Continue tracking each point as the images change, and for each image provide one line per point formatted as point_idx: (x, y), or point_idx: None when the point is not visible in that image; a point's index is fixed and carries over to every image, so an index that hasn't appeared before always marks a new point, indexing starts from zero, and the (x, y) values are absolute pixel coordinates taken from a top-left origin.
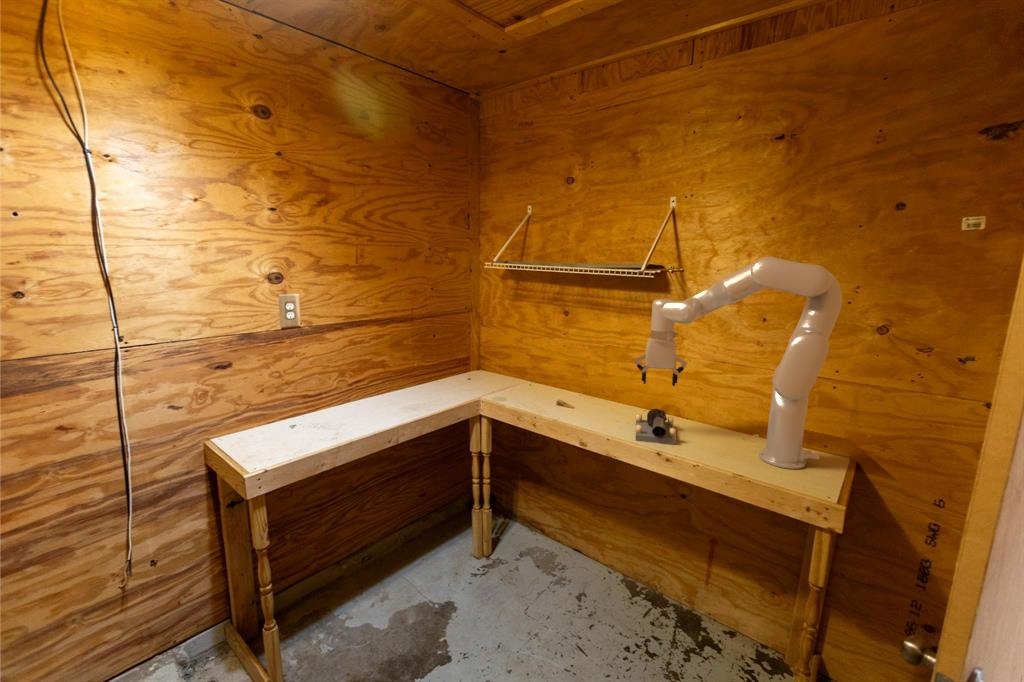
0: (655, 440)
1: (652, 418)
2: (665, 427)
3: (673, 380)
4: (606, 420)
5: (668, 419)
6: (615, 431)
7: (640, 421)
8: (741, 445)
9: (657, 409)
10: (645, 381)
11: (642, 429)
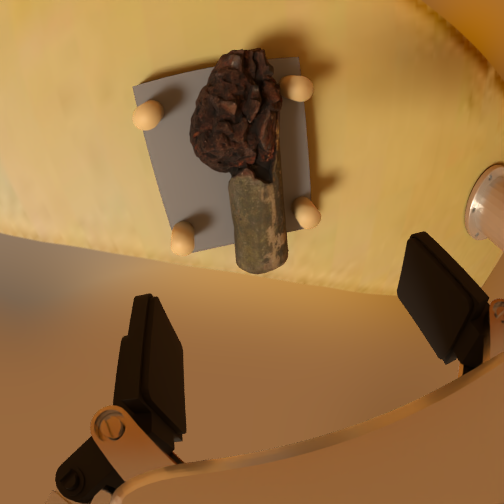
0: None
1: (222, 168)
2: (285, 243)
3: (420, 326)
4: (31, 119)
5: (289, 97)
6: (95, 204)
7: (160, 120)
8: (458, 149)
9: (238, 90)
10: (180, 366)
11: (187, 194)
